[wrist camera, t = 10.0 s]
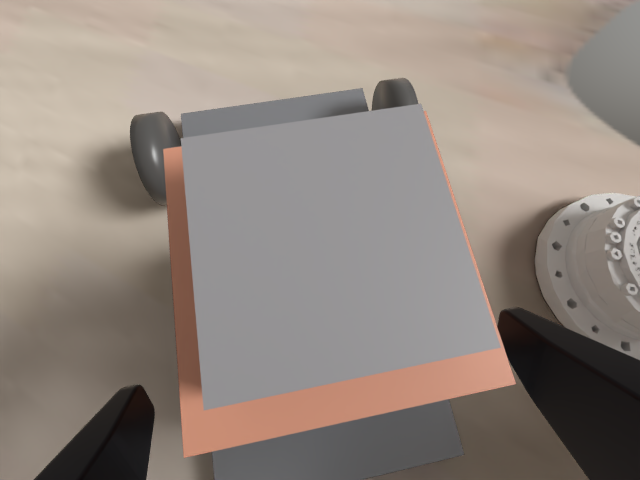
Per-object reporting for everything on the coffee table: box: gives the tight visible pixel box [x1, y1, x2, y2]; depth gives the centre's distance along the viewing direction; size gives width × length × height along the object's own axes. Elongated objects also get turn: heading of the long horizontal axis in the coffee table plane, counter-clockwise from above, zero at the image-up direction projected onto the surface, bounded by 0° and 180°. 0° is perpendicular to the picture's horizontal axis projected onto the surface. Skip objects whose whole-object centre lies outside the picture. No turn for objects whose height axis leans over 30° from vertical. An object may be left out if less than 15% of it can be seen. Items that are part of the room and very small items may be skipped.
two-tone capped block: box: [163, 104, 516, 458], centre depth 11 cm, size 5×5×14 cm
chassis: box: [130, 78, 464, 480], centre depth 18 cm, size 22×15×5 cm
